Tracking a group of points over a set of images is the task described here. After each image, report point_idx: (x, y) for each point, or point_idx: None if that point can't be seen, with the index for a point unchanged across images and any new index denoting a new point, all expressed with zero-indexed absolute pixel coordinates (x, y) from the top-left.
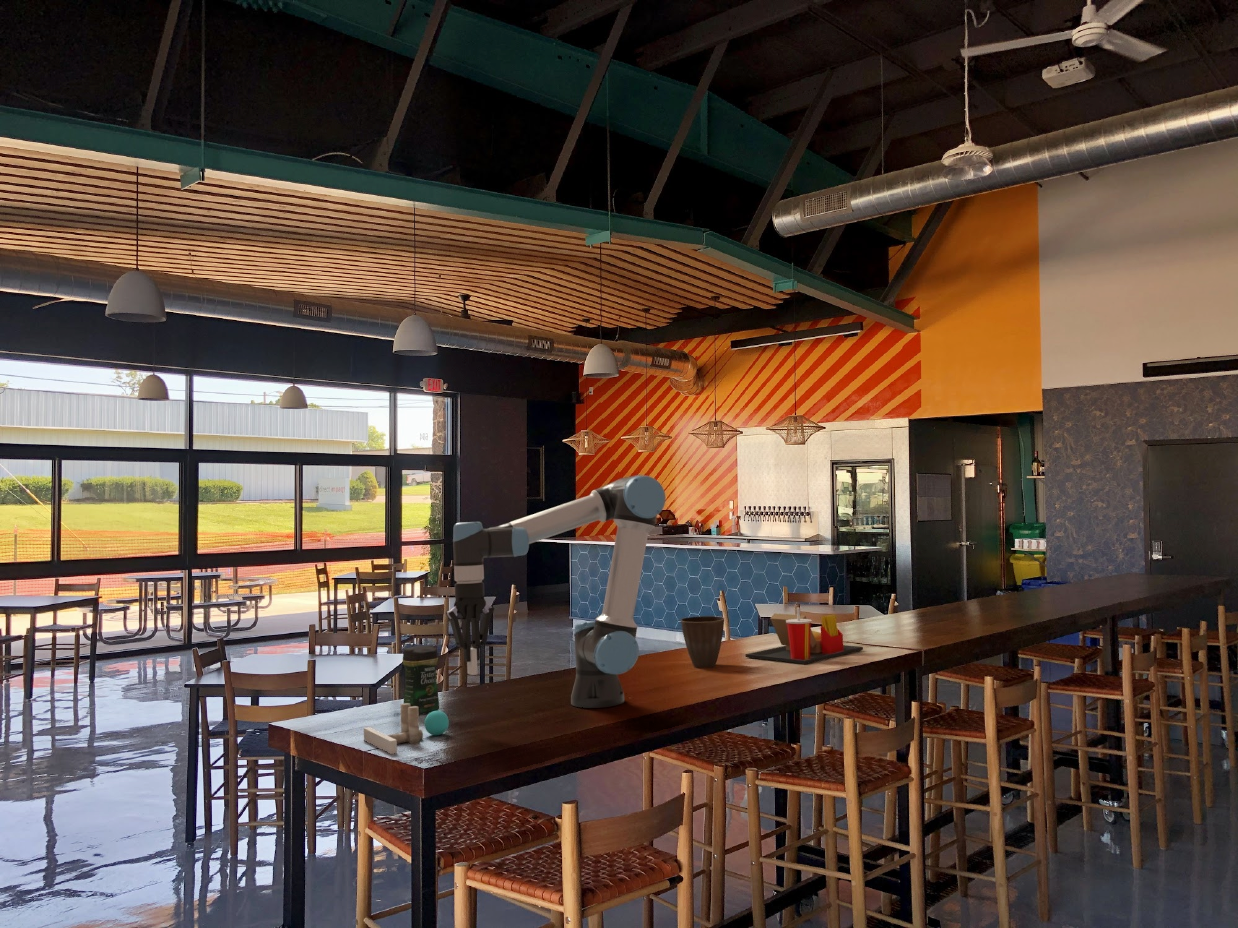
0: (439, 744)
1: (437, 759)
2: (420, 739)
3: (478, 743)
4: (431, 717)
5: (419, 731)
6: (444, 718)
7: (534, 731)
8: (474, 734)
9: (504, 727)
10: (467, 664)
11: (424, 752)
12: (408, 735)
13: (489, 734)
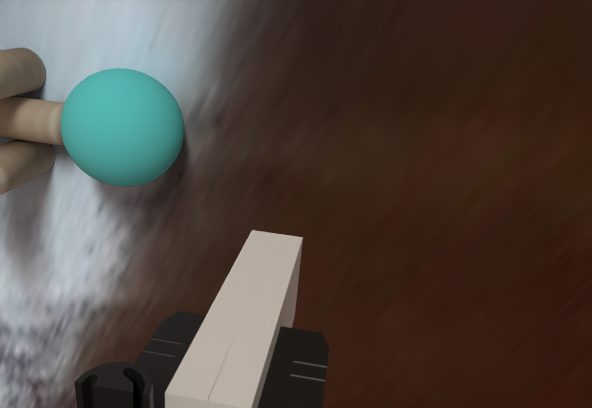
0: (102, 250)
1: (38, 382)
2: None
3: None
4: (72, 158)
5: (45, 139)
6: (134, 184)
7: (446, 373)
8: None
9: (419, 236)
10: (230, 274)
11: (29, 294)
12: (1, 136)
13: (306, 278)
